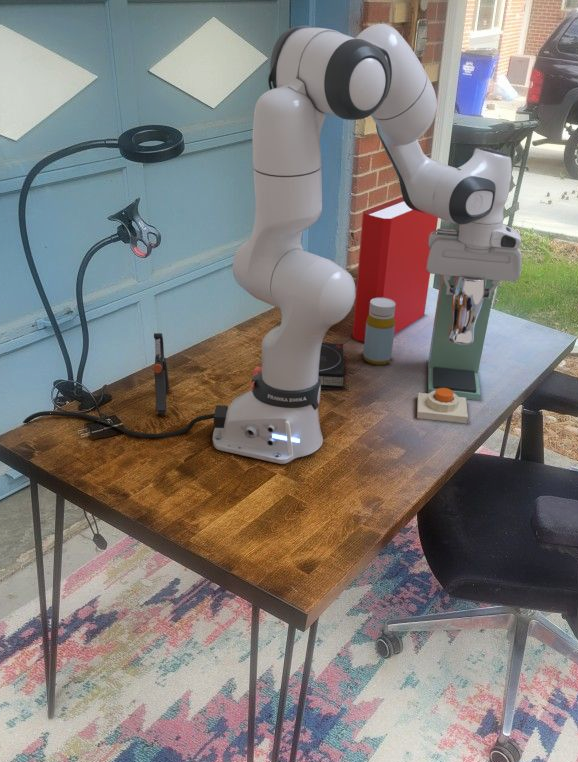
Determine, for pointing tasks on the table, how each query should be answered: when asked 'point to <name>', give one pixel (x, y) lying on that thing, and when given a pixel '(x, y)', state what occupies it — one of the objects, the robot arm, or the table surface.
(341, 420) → the table surface
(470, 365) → the mint green tower
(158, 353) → the hand grip strengthener
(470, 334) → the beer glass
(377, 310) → the bottle
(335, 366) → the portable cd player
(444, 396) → the button
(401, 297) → the book
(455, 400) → the control pad
